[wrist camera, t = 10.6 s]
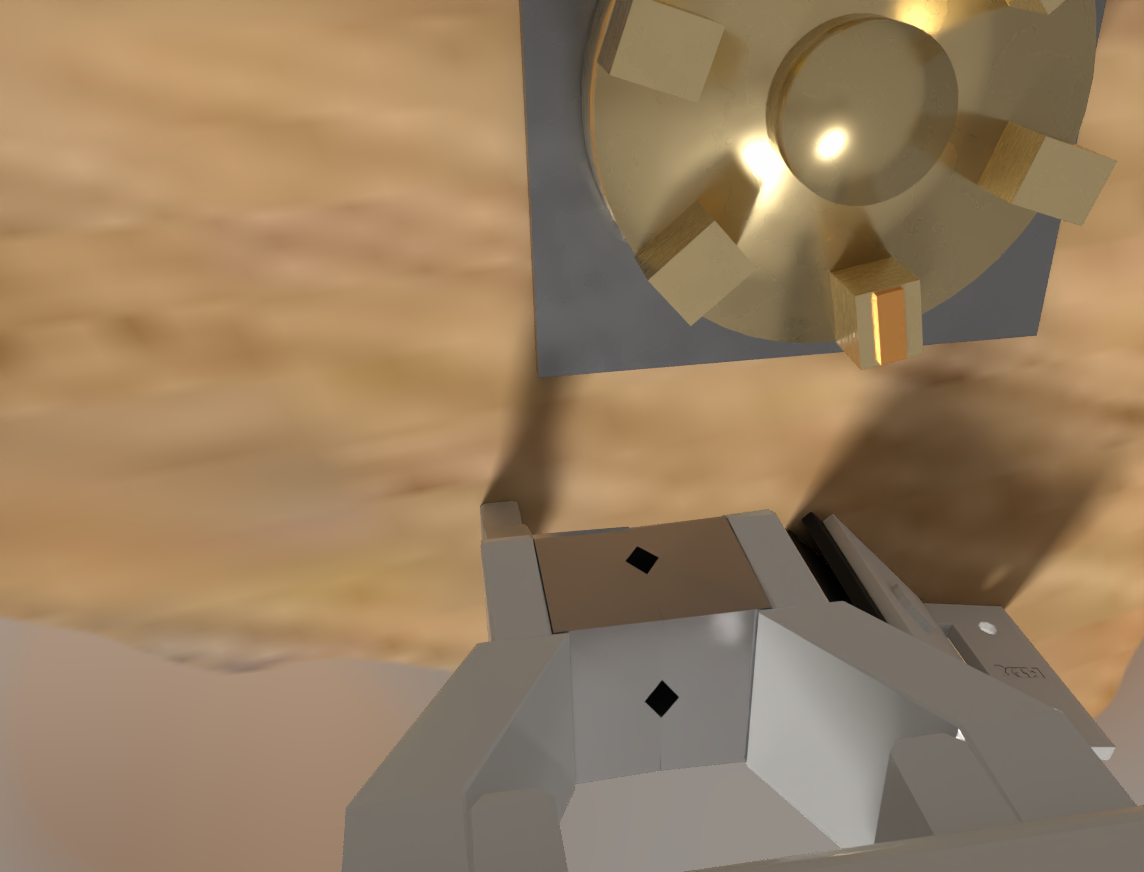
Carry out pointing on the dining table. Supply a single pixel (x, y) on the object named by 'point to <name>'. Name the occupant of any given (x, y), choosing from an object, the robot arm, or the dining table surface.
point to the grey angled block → (502, 520)
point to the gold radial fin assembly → (835, 153)
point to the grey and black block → (941, 622)
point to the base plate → (615, 280)
